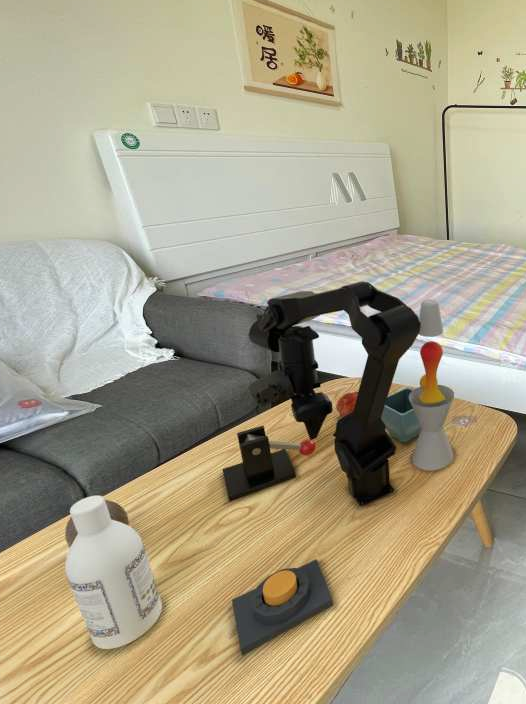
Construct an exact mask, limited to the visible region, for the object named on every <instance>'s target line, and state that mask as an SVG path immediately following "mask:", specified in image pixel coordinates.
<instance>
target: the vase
mask: <svg viewBox="0 0 526 704" xmlns="http://www.w3.org/2000/svg"><path fill="white" fill-rule="evenodd" d="M105 502H106V505H107V508H108V511H109V514H110V518H111V520H115V521H118V522H121V523H124V524H126V525H128V526H130V521H129V516H128V513H127V511H126V510H125V508H124V507H123V506H122V505H120V503H118V502H115V501H112V500H108V499H105ZM77 535H78V532H77V530H76V527H75V525H74V522H73V519H72V517H71V516H70V518H69V519H68V522H66V527H65V532H64V537H65V538H64V539H65V541H66V544H67V546H68V547H69V548H68V549H70V547H71V545H72V543H73V542H74V540H75V538H76V536H77Z"/></svg>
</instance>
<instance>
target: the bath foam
mask: <svg viewBox="0 0 526 704" xmlns="http://www.w3.org/2000/svg"><path fill="white" fill-rule="evenodd" d="M105 500H106V499H105V498H104V496H102V495H90V496H87V497H84V498H82V499H79V500H78V501H77V502H75V503H74V504H72V506H71V507H70V509H69V513H70V518H71V517H72V519H73V522H74V525H75V527H76V530H77V532H78V535H77V536H76V538H75V540H74V542H73V543H72V545H71V547H70V548H68V552H67V554H66V557H65V565H64V566H65V575H66V579H67V582H68V584H69V587H70V589H71V592H72V594H73V597H74V599H75V602H76V604H77V607H78V609H79V612H80V615H81V617H82V619H83V622H84V625H85V627H86V629H87V632H88V633H89V636H90V638H91V641H92V643H93V644H94V646H96V647H97V648H99V649H102V650H113V649H117V648H120V647H123V646H125V645H128V644H130V643H132V642H134V641H136V640H137V639H139V638H140V637H142V636H143V635H144V634H146V633H147V632H148V631H149V630H150V629H151V628H152V627H153V626H154V625H155V624H156V622H157V621H158V620H159V618H160V615H161V613H162V609H163V603H162V599H161V596H160V593H159V589H158V586H157V583H156V580H155V576H154V573H153V570H152V567H151V564H150V561H149V558H148V557H149V556H148V554H147V551H146V547H145V544H144V542H143V539H142V537H141V535H140V534H139V533H138V532H137V531H136V529H134V528H133V527H132V526H130V525H129V526H128V525H126V524H124V523H121V522H118V521H115V520H111V518H110V514H109V511H108V508H107V505H106V502H105Z"/></svg>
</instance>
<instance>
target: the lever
mask: <svg viewBox="0 0 526 704" xmlns="http://www.w3.org/2000/svg"><path fill="white" fill-rule="evenodd" d="M261 437H264V436H261V435H250V434H247V437H246V439H245V441H244V442H248V441H251V440H254V439H258V438H261ZM269 445H270V449H273V450H283V449H286V451H298V453H299V454H301V455H302V456H306V457H307V456H311V455H312V454H313V453H315V452H316V448H317V444H316V442H315V441H314V439H313V440H310V438H309V439H308V438H307V439H304V440H302V441H301V442H299V443H298V442H288V441H277V440H276V441H275V440H269Z"/></svg>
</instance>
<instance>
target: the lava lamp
mask: <svg viewBox="0 0 526 704" xmlns="http://www.w3.org/2000/svg"><path fill="white" fill-rule="evenodd" d="M441 316H442V315H441V309H440V304H439V301H437V300H436V299H434V298H433V299H431V298H429V299H424V300H422V301H421V303H420V310H419V316H418V318H419V321H420V323H421V328H420V332H419V334H418V336H421V337H425V338H432V337H433V338H434V337H438V336H441V335H443V333H444V327H443V321H442V317H441ZM443 354H444V351H443V347H442V345H441V344H440V343H438V342H437V341H434V340H433V341H432V340H430V341H427V342H425V343H423V345H422V346H421V347H420V350H419V355H420V358H421V361H422V364H423V368H424V371H425V374H423V375H422V376H421V377H420V379H419V387H416V388H415V389H413V391H412V392H411V393H410V394H409V400H410V403H411V405H412V407H413V410H414V412H415V414H416V416H417V418H418V421H419V423H420V425H421V427H422V429H421V432H420V434H419V435H418V438H417V441H416V444H415V447H414V450H413V454H412V457H411V462H412V464H413V465H415V467H416V468H418V469H420V470H422V471H427V472H428V471H438V470H442V469H444V468H446V467H448V466H449V465H450V464H451V463H452V461H453V460H454V451H453V449H452V446H451V444H450V441H449V438H448V436H447V433H446V430H445V427H444V425H445V422H446V420H447V417H448V414H449V412H450V409H451V406H452V404H453V402H454V399H455V392H454V391H453V389H452V388H450V387H449V386H446V385H443V384H438V383H439V382H438V381H439V380H438V377H437V372H438V369H439V365H440V363H441V360H442V358H443Z"/></svg>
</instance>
